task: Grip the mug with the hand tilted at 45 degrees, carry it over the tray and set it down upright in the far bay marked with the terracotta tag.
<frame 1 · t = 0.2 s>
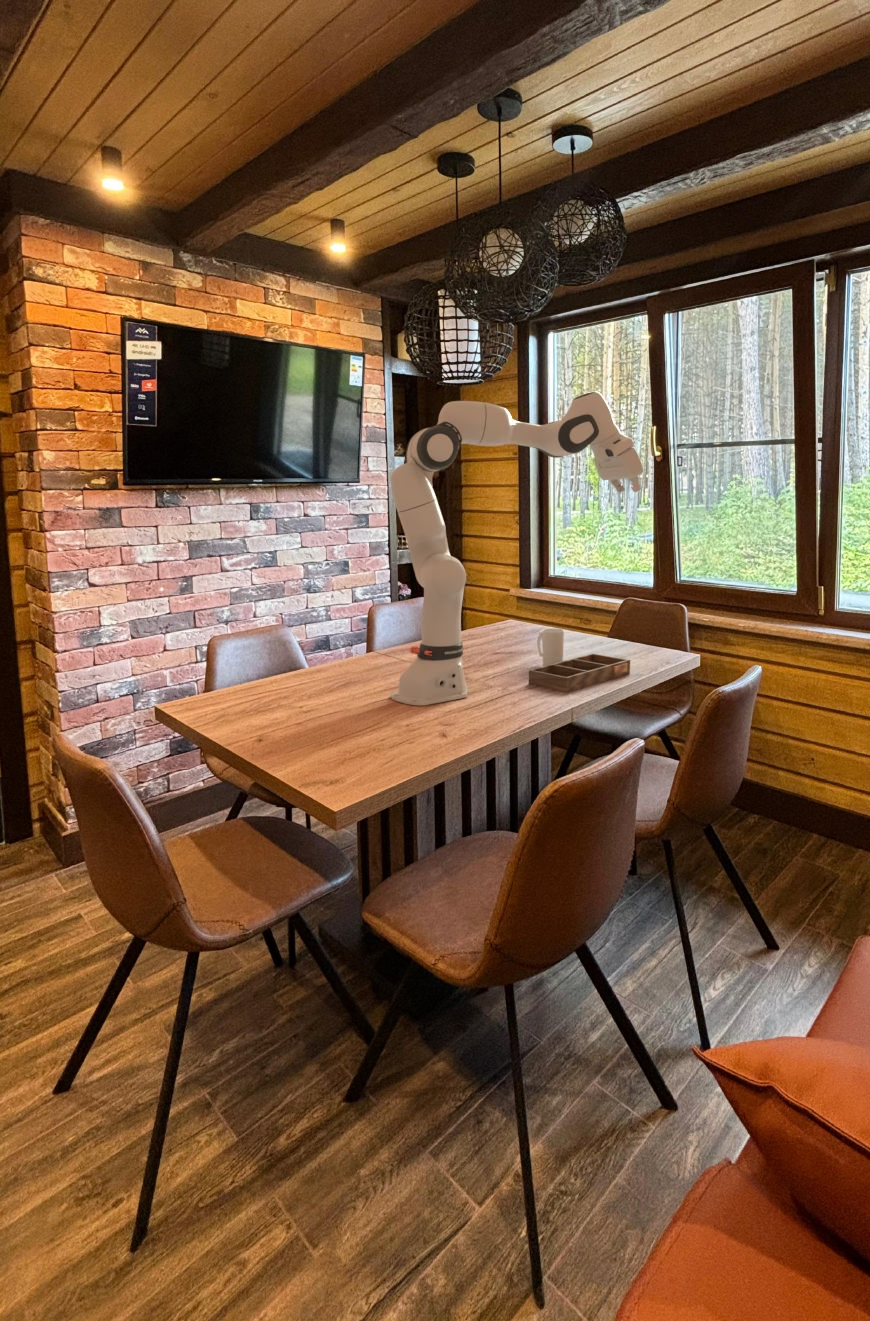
hand: (629, 491, 212), 54 cm above the table, tool tilted 30°, fingers open, 8 cm apart
tray: (580, 678, 222), on the table
mug: (549, 667, 238), on the table
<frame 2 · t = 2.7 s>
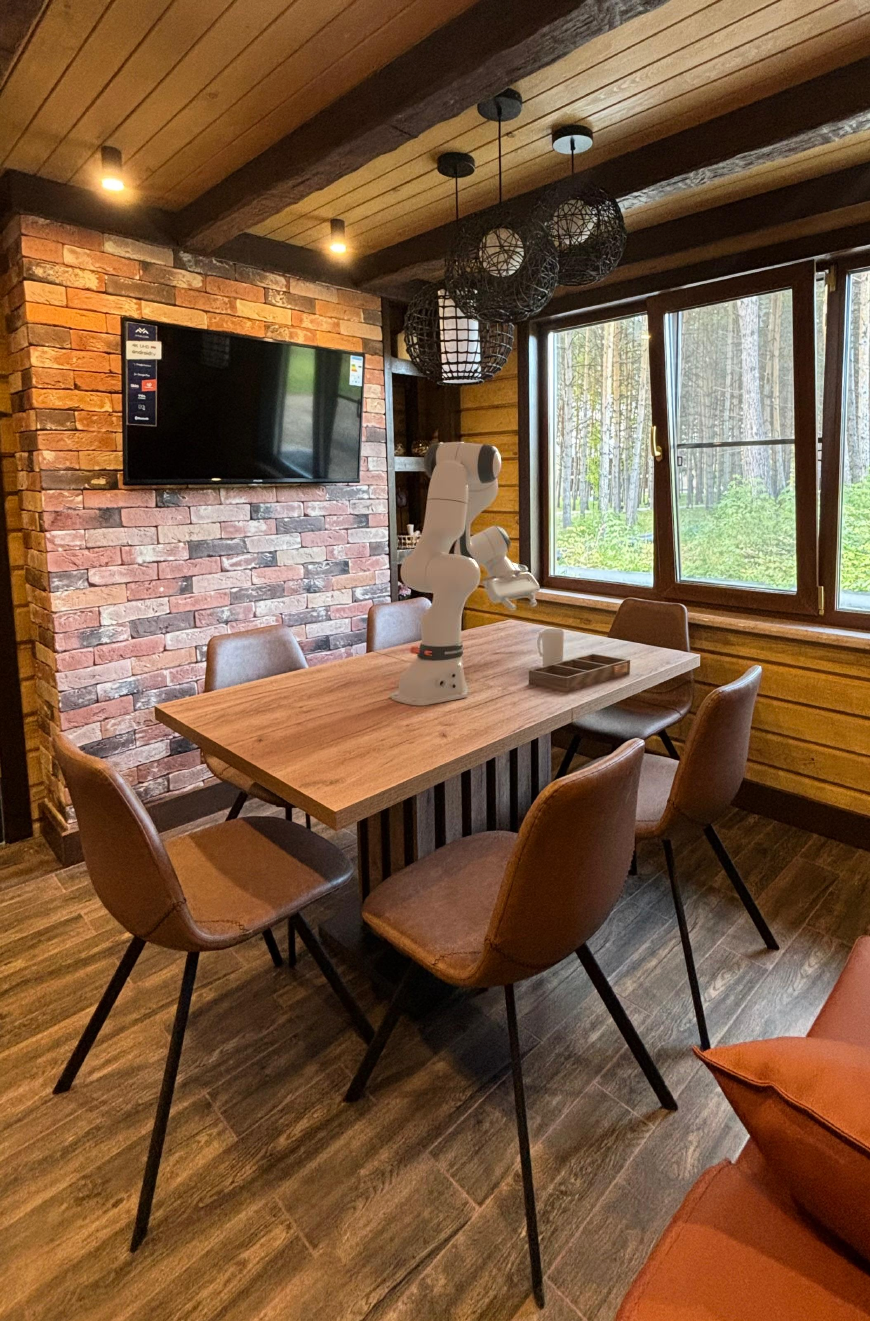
hand: (524, 607, 243), 18 cm above the table, tool tilted 45°, fingers open, 8 cm apart
nothing on the table moved.
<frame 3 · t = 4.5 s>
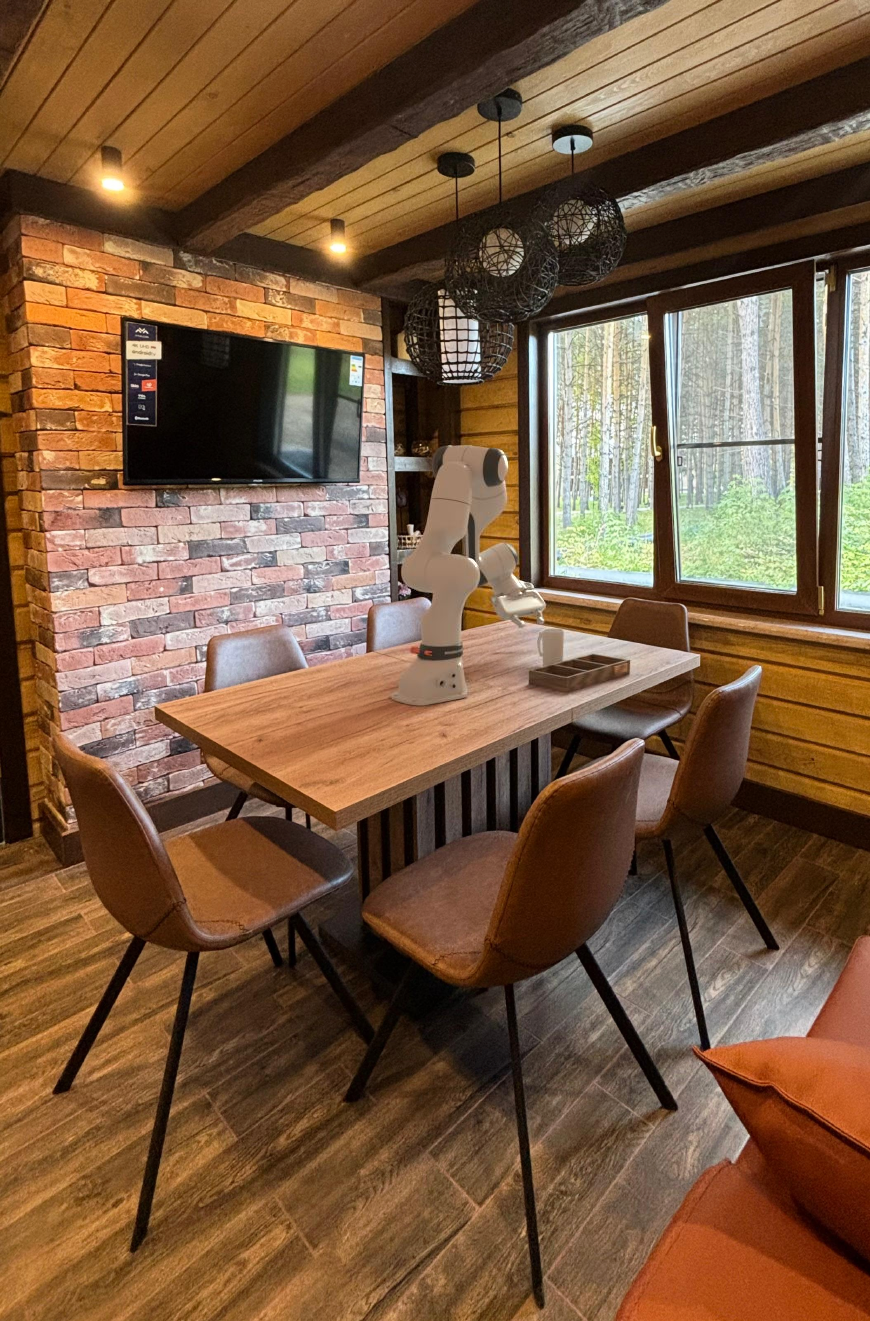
hand: (532, 624, 240), 13 cm above the table, tool tilted 45°, fingers open, 8 cm apart
nothing on the table moved.
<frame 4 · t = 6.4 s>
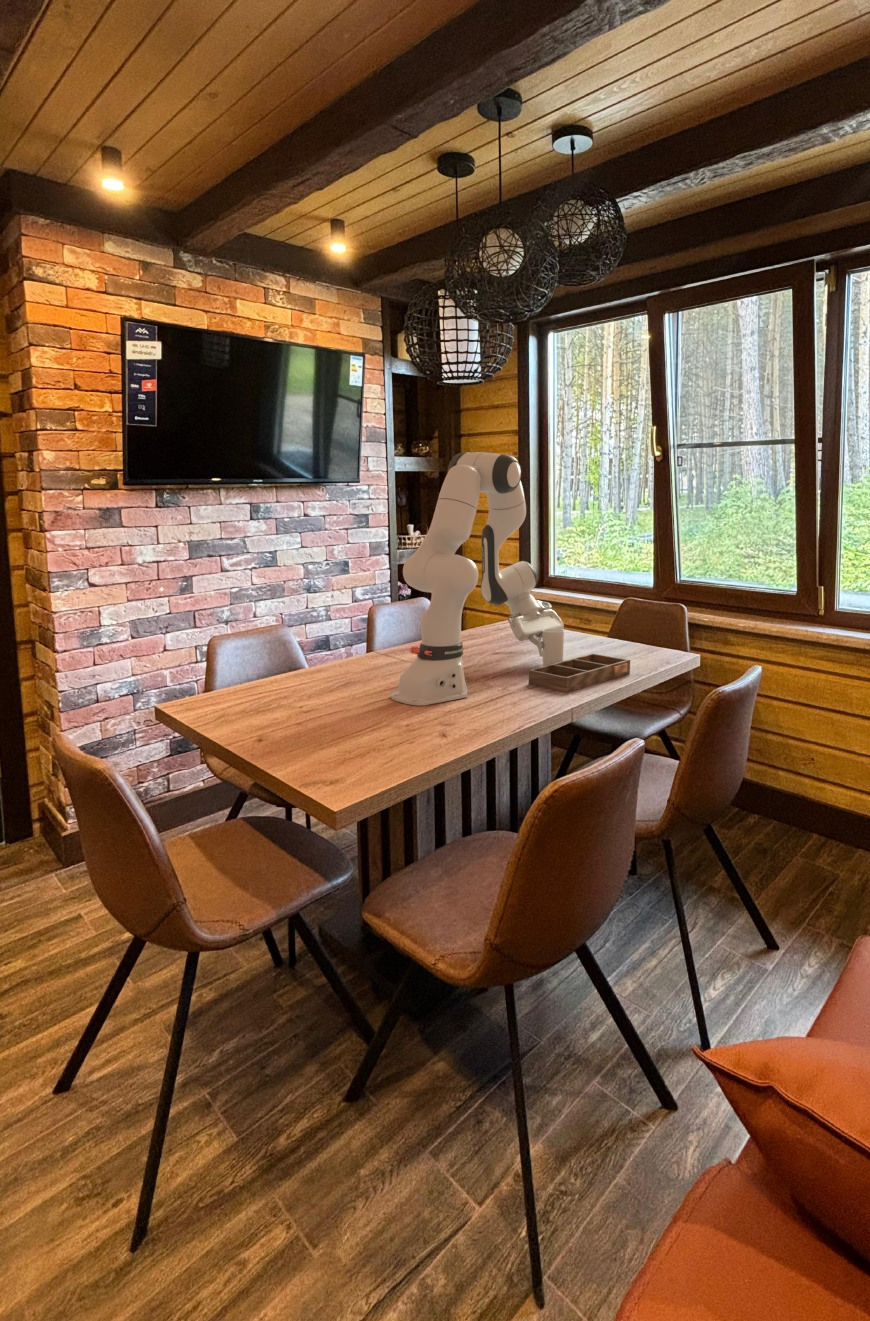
hand: (550, 645, 236), 7 cm above the table, tool tilted 45°, fingers open, 7 cm apart
mug: (549, 667, 238), on the table, touching gripper
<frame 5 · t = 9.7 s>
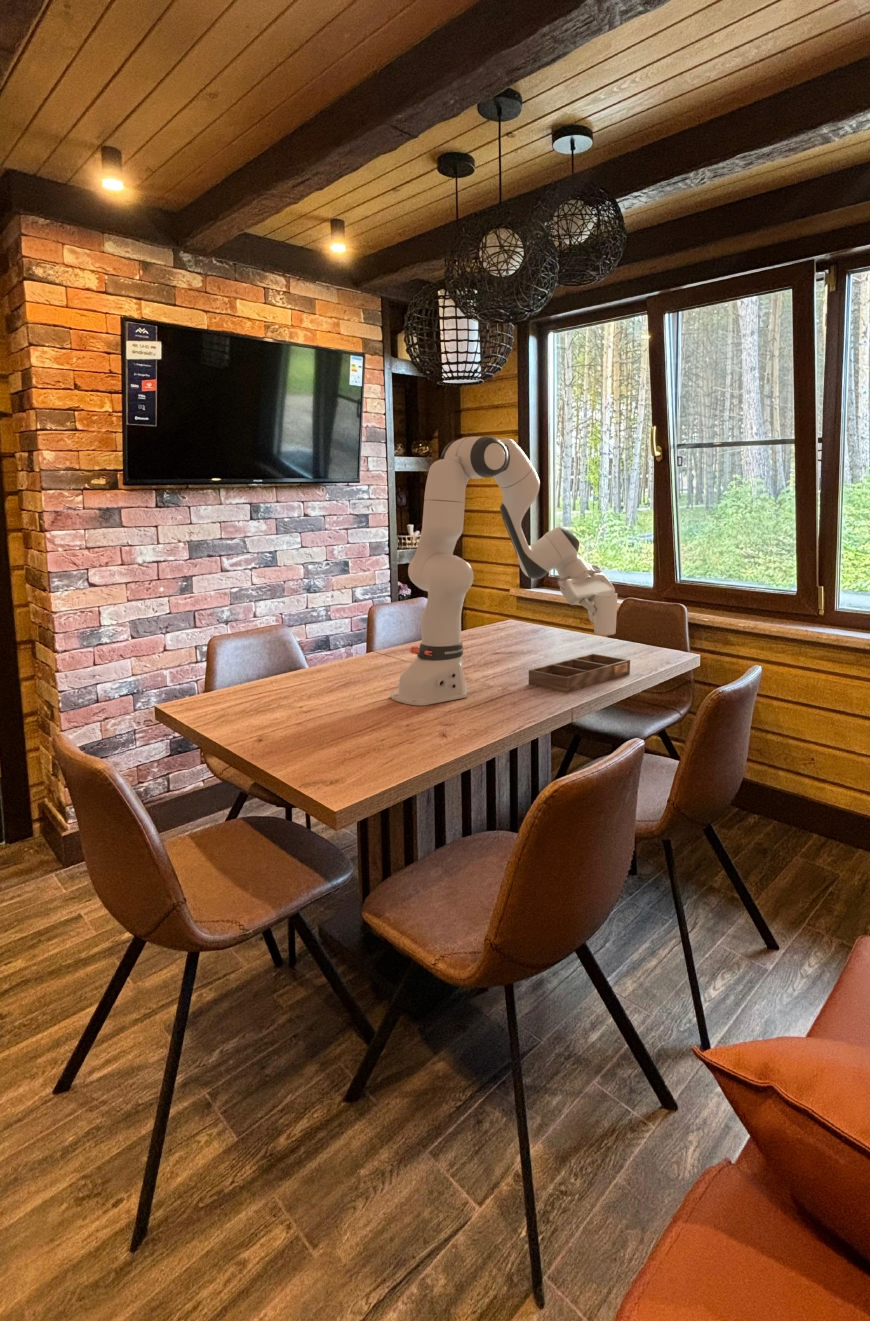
hand: (602, 610, 223), 19 cm above the table, tool tilted 45°, fingers closed on mug, 6 cm apart
mug: (600, 633, 226), point 12 cm above the table, touching gripper
when the fingers open (9 cm above the table, at t = 12.1 s): mug drops 1 cm, resting on tray.
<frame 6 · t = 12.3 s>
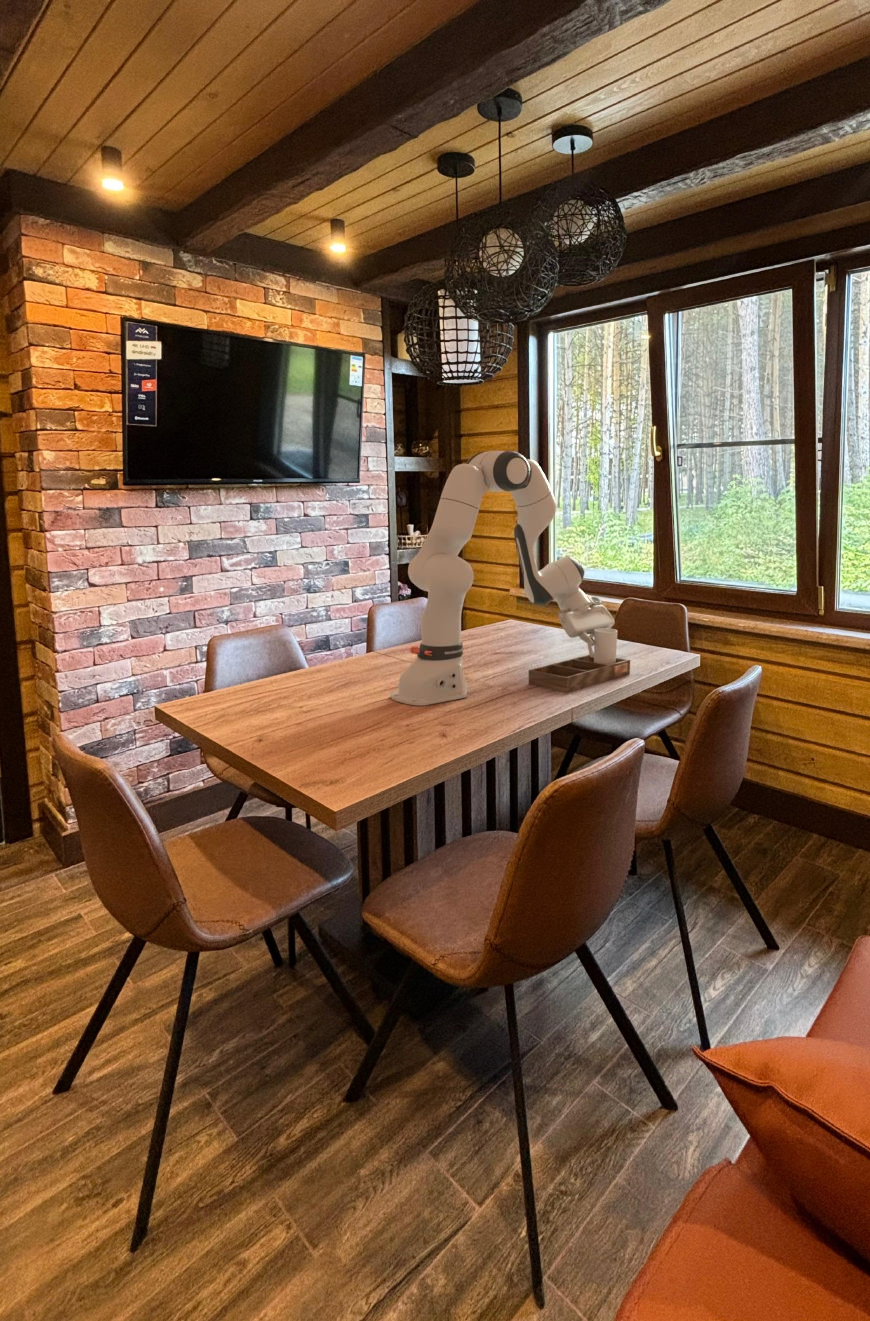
hand: (602, 642, 225), 10 cm above the table, tool tilted 45°, fingers open, 8 cm apart
mug: (600, 668, 228), point 1 cm above the table, touching tray
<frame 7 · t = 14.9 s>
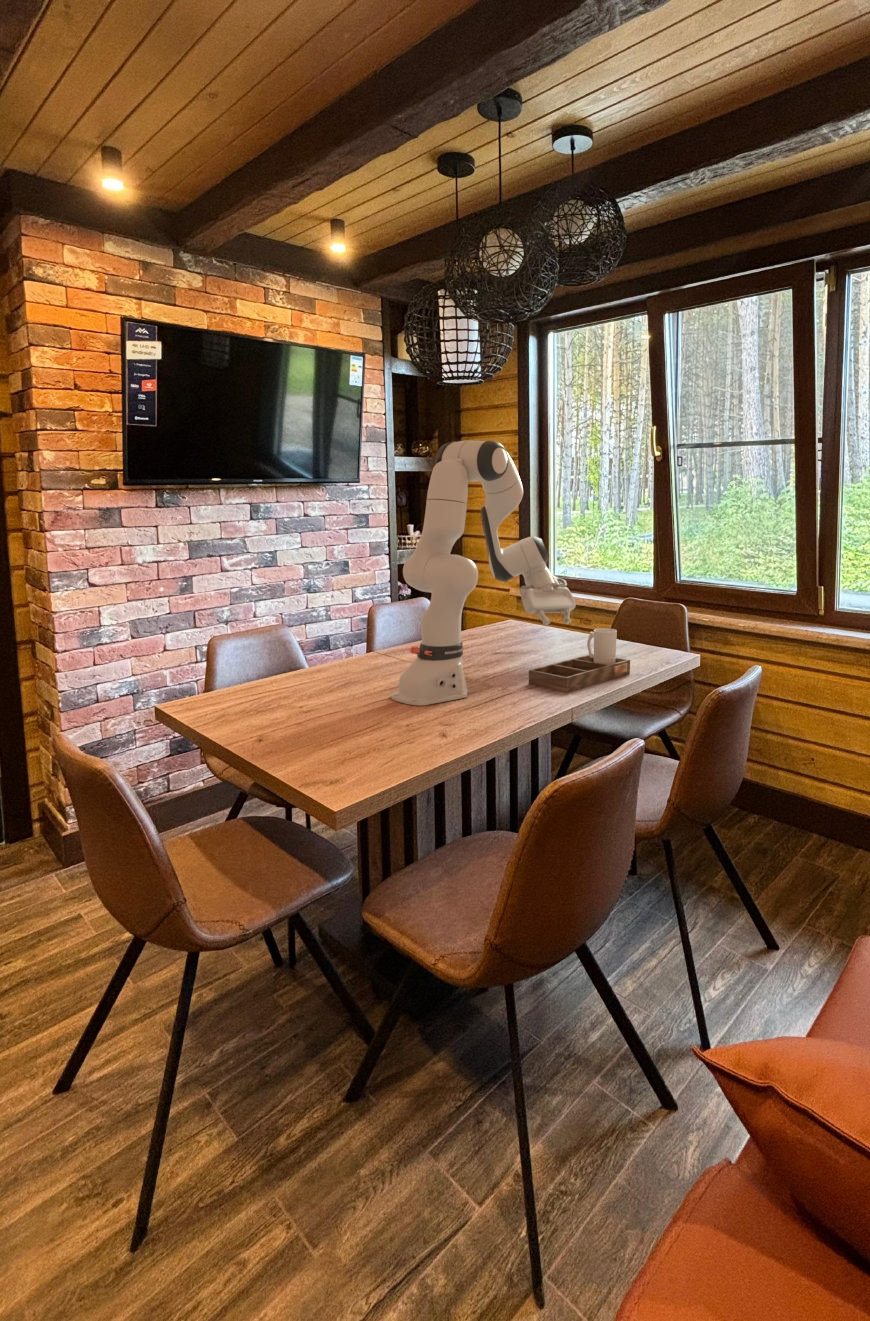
hand: (557, 623, 234), 14 cm above the table, tool tilted 35°, fingers open, 8 cm apart
nothing on the table moved.
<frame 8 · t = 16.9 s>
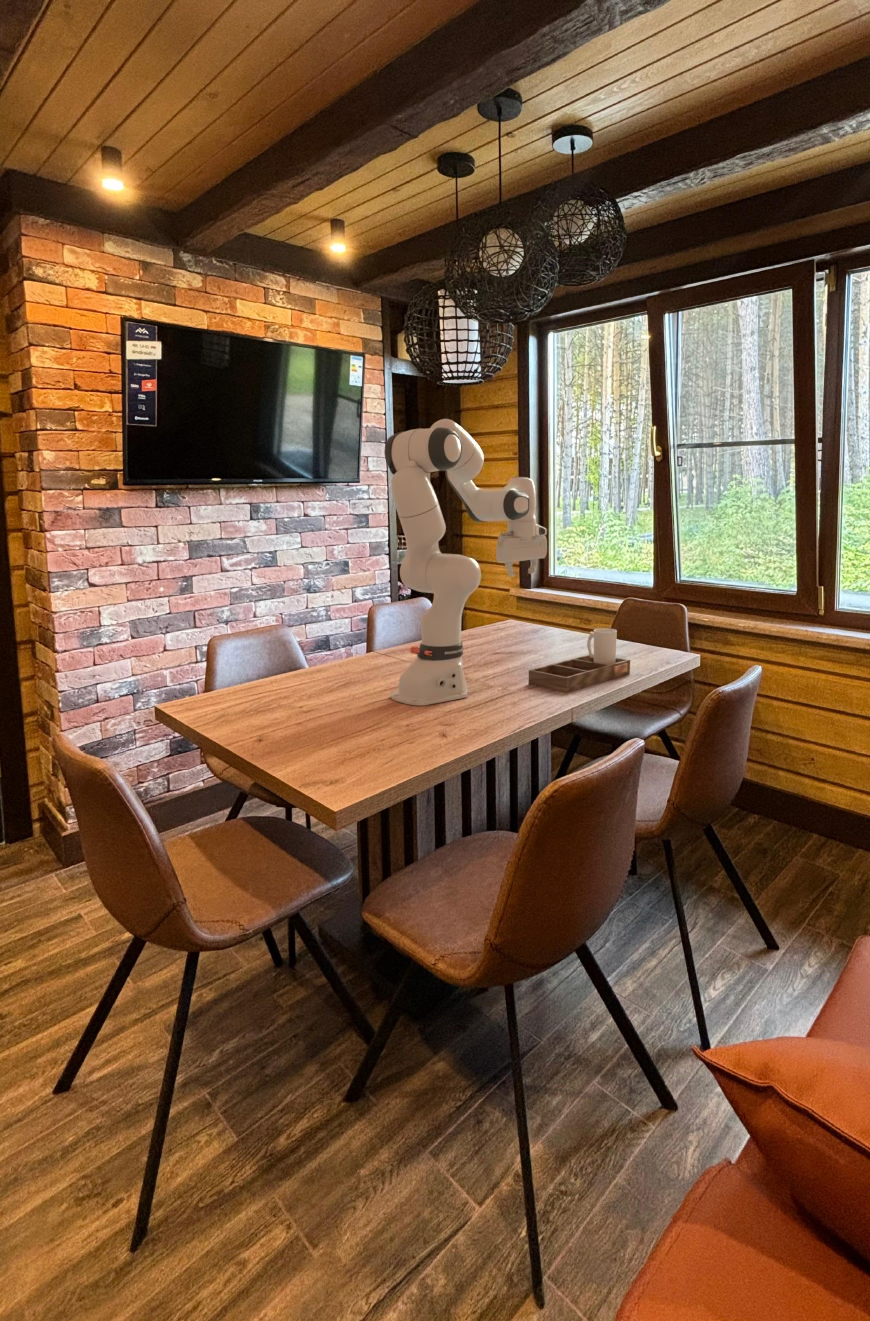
hand: (521, 575, 235), 29 cm above the table, tool pointing down, fingers open, 8 cm apart
nothing on the table moved.
at the end: mug inside the target area on the tray (0.1 cm from its centre), point 1.2 cm above the tray's base; mug tilted 0°; the gripper is holding nothing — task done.
